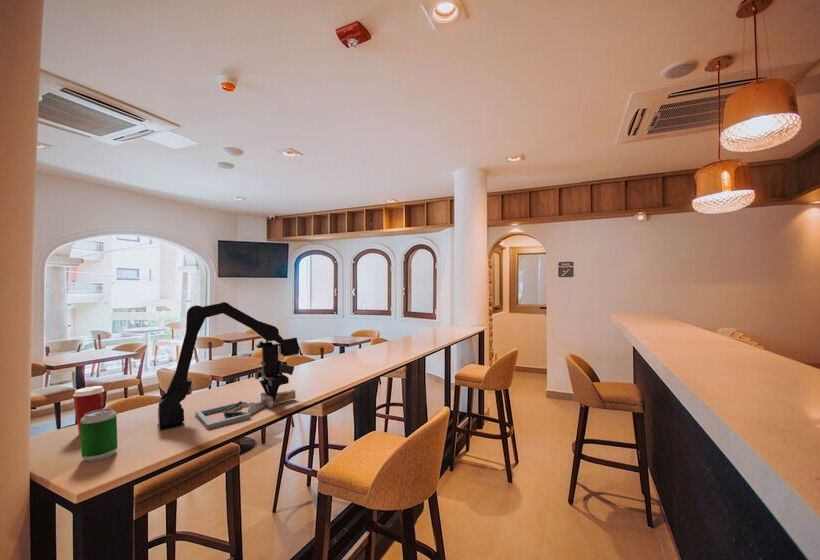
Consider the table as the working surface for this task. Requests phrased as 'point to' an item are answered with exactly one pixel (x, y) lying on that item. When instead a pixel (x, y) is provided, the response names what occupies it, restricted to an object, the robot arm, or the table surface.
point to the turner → (278, 397)
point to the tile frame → (210, 424)
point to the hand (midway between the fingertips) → (272, 400)
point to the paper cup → (87, 402)
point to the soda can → (98, 434)
